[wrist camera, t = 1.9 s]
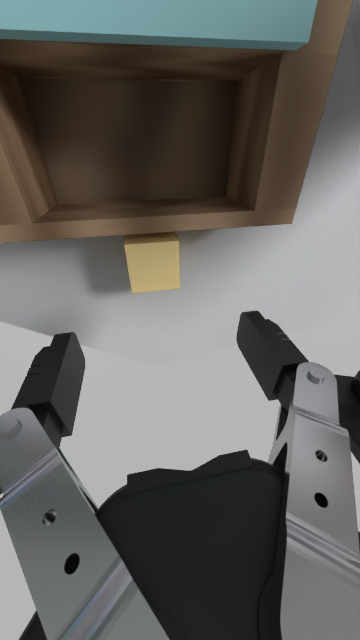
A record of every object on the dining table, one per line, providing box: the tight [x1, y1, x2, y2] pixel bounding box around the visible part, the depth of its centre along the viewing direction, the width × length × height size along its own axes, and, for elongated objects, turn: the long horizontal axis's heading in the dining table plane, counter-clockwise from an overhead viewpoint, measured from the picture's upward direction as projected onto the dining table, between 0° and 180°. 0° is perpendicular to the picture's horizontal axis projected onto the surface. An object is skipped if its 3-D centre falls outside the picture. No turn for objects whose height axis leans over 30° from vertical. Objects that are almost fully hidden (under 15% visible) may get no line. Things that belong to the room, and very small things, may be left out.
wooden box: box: [0, 0, 353, 243], centre depth 13 cm, size 20×14×6 cm
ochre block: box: [124, 232, 180, 293], centre depth 19 cm, size 4×4×5 cm
